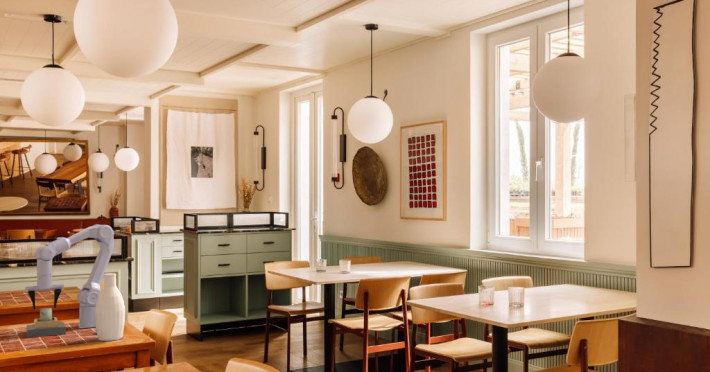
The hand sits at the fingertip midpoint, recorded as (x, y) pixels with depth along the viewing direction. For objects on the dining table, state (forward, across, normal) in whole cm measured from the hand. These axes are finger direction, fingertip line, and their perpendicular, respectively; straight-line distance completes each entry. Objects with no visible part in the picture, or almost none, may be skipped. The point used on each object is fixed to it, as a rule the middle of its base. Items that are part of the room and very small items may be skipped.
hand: (44, 308), depth 280 cm
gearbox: (+10, 0, +2) cm, 10 cm away
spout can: (+7, 0, +2) cm, 7 cm away
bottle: (+10, -22, +26) cm, 35 cm away
